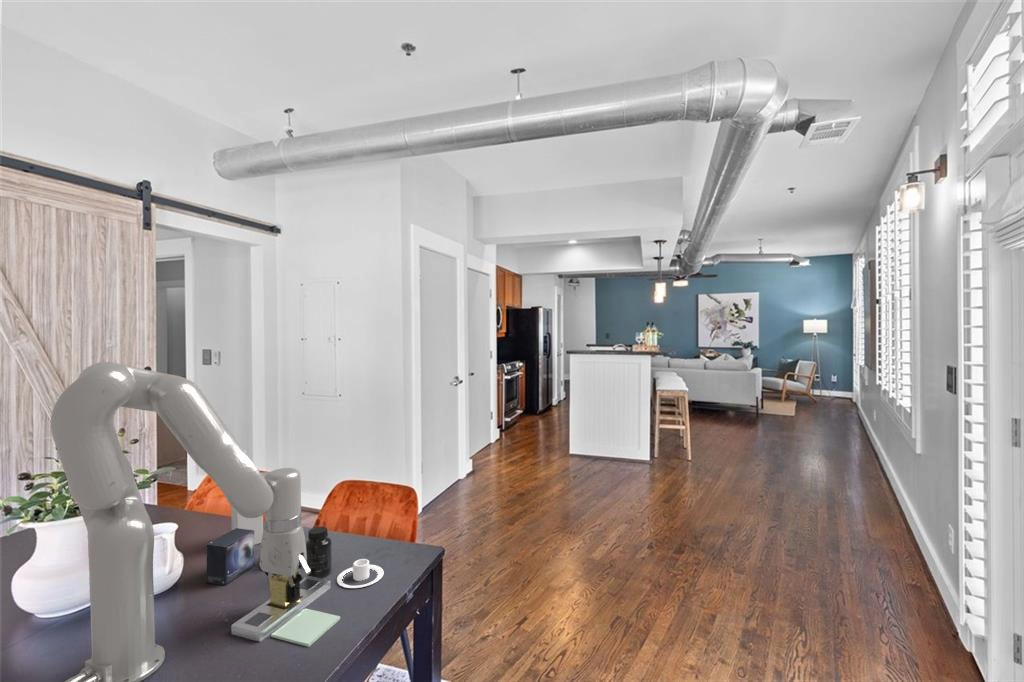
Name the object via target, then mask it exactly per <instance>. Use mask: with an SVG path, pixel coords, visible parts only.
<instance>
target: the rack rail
mask: <svg viewBox="0 0 1024 682" xmlns="http://www.w3.org/2000/svg"><path fill="white" fill-rule="evenodd" d="M330 589H331V580H330V579H326V578H317V577H312V576H305V577H304V578H303V579H302V581H301V582H300V599H299V600H298V601H297V602H295V603H294V604H293V605H291V606H290V607H289V608H287V609H286V610H283V609H279V608H275V607H271V606H270V598H269V599H268V600H267V601H265V602H263V603H261V604H260V605H259V606H258V607H256V608H254V609H253V610H251V611H250V612H249V613H247V614H246V615H244V616H242V617H241V618H240V619H238V620H237V621H235V622H233V624H231V629H230V630H231V635H233V636H237V637H240V638H241V637H242V638H245V639H247V640H252V641H256V642H262V641H263V640H265V639H266V638H267V637H268V636H269V635H270V636H271V634H272V633H274V632H275V631H276V630H277V629H279V628H280V627H281V626H283V625H284V624H285V623H287V622H288V621H289V620H290V619H292V618H293V617H294V616H296V615H297V614H298V613H300V612H301V611H302V610H304V609H305V608H306V607H307V606H309V605H311V603H313V602H314V601H315V600H317V599H318V598H319V597H321V596H322V595H324V594H325V593H326V592H327V591H329V590H330Z"/></svg>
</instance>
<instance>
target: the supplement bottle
mask: <svg viewBox="0 0 1024 682" xmlns="http://www.w3.org/2000/svg"><path fill="white" fill-rule="evenodd" d="M307 533H308V535H307V537H308V538H307V539H308V540H306V541H305V542H306V553H307V562H306V563H307V565H308V567H309V568H310V570H311V573H310V574H308V575H307V576H312V577H317V578H322V577H323V578H325V577H327V576H328V574H329V575H330V574H331V573H332V571H333V553H332V552H333V548H332V547H333V545H332V543H333V542H332V539H331V538H330V537H329V533H328V527H326V526H315V527H313V528H310V529H309V530H308V532H307ZM323 578H322V579H323Z"/></svg>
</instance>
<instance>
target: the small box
mask: <svg viewBox="0 0 1024 682" xmlns="http://www.w3.org/2000/svg"><path fill="white" fill-rule="evenodd" d="M252 568H255V545H254V530H247V529H240V528H236V529H234V530H232V529H231V531H228V532H225V534H223V535H220V536H219V537H217V538H215V539H213V540H211V541H209V542H208V543H206V583H207V584H214V585H221V586H227V585H229V584H230V583H231V582H233V581H234V580H236V579H238V578H239V577H240V576H242V575H243V574H245V573H247V572H248V571H249V570H251V569H252Z"/></svg>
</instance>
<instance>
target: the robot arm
mask: <svg viewBox="0 0 1024 682" xmlns="http://www.w3.org/2000/svg"><path fill="white" fill-rule="evenodd" d="M121 407H122V408H128V409H135V410H141V411H147V412H153V413H154V412H155V413H156V415H158V417H160V419H161V420H162V422H163V423H164V424H165V425H166V427H167V428H168V429H169V431H170V432H171V433H172V435H173V436H174V437H175V439H176V440H177V441H178V442H179V444H180V445H181V446H182V448H183V449H184V451H186V453H187V454H188V455H189V458H191V459H192V460H193V462H194V463H195V464H196V465H197V466H198V467H199V468H200V469H201V470H203V472H204V473H206V474H207V475H208V476H209V477H210V479H212V482H214V483H215V484H216V486H217V487H218V488H219V489H220V490H221V492H222V493H223V494H224V496H225V499H226V501H227V502H228V504H230V507H231V506H232V507H233V508H234V509H235V510H236V511H237V512H238V513H239V514H240V515H241V516H243V517H246V518H256V517H260V516H262V515H263V516H264V521H265V527H263V534H262V540H261V543H260V549H259V550H260V553H259V564H258V566H259V567H260V569H261V570H262V571H263V573H264V574H265V575H266V577H267V578H266V579H267V582H268V583H270V579H271V578H272V577H274V576H276V575H277V574H278V575H283V576H288V579H289V584H290V586H289V587H288V603H290V604H291V603H292V602H294V601H295V600H296V599H298V598H299V597H300V582H301V581H302V579H303V578H304V577H305V576H307V575H308V574H310V573H311V570H310V568H309V567H308V565H307V563H306V562H307V553H306V542H307V541H306V537H305V530H304V527H303V526H302V492H301V491H302V489H301V487H302V486H301V485H302V484H301V483H302V482H301V480H302V479H301V472H300V471H299V470H298V469H296V468H293V467H283V468H282V467H281V468H277V469H274V470H271V471H264V472H261V471H260V470H259V469H258V467H257V466H256V465H255V463H254V462H253V461H252V460H251V458H250V456H248V454H247V453H246V452H245V450H244V449H243V448H242V446H241V445H240V443H239V441H238V440H237V438H236V437H235V436H234V434H233V433H232V431H230V429H229V428H228V427H227V425H226V424H225V422H224V421H223V419H222V418H221V417H220V415H219V414H218V412H217V411H216V410H215V408H214V407H213V405H212V404H211V403H210V401H209V400H208V398H207V397H206V395H205V394H204V393H203V391H202V390H201V388H200V387H199V386H198V385H197V384H196V383H195V382H194V381H192V380H190V379H188V378H185V377H183V376H179V375H175V374H169V373H165V372H164V373H163V372H160V371H154V370H153V371H152V370H149V369H144V368H140V367H136V366H130V365H127V364H126V365H125V364H121V363H117V362H114V361H113V362H112V361H101V362H96V363H92V364H91V365H89V366H87V367H85V369H83V370H82V371H81V373H79V375H78V377H77V379H76V380H75V381H73V382H72V383H71V384H70V385H69V386H67V388H65V390H63V392H62V393H61V394H60V395H59V396H58V399H57V400H56V402H55V404H54V406H53V409H52V411H51V415H50V430H51V434H52V438H53V442H54V445H55V449H56V450H57V454H58V456H59V460H60V463H61V467H62V469H63V472H64V474H65V476H66V480H67V484H68V485H67V486H68V492H69V494H70V497H71V498H72V499H73V501H74V502H75V503H76V504H77V507H78V509H79V511H80V514H81V516H82V519H83V522H84V525H85V526H86V531H87V551H88V573H89V576H88V580H89V603H90V604H89V605H90V606H89V607H90V610H89V611H90V635H91V637H90V639H91V658H89V659H87V660H85V661H84V668H82V669H81V670H80V671H79V673H78V674H76V675H74V676H71V677H70V678H68V679H67V680H65V681H64V682H142V681H144V680H145V679H147V678H148V677H150V676H151V675H152V674H153V673H155V672H156V671H158V669H159V668H160V667H161V666H162V665H163V663H164V661H165V659H166V650H165V648H164V647H163V646H161V645H159V644H156V642H155V641H156V634H155V625H156V624H155V594H154V593H155V592H154V591H155V589H154V550H155V549H154V548H155V533H154V532H155V531H154V527H153V523H152V521H151V518H150V515H149V513H148V511H147V509H146V507H145V504H144V501H143V499H142V496H141V493H140V490H139V488H138V485H137V482H136V479H135V476H134V471H133V468H132V466H131V464H130V462H129V460H128V458H126V457H125V455H124V452H123V449H122V446H121V444H120V440H119V437H118V433H117V431H116V427H115V424H114V417H115V414H116V413H117V411H118V410H119V408H121ZM294 574H296V578H295V579H294Z"/></svg>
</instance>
